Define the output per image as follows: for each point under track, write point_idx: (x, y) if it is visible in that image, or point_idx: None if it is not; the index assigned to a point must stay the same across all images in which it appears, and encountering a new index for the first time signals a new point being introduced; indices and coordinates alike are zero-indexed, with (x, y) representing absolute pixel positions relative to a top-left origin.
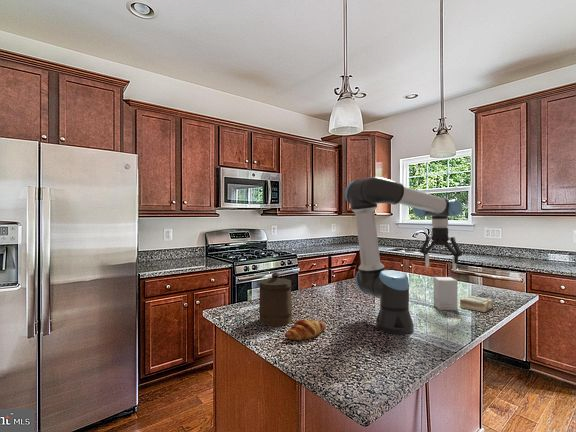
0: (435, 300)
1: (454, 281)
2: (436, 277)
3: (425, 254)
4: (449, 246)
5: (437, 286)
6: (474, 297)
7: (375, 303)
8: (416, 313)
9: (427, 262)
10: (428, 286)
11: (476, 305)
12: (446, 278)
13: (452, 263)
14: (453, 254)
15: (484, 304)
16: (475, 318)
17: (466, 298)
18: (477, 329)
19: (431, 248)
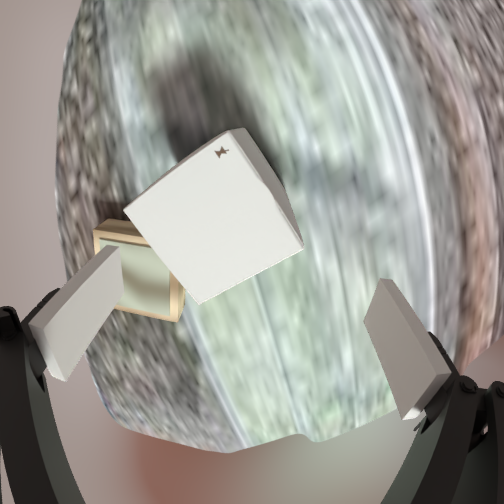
0: (273, 172)
1: (138, 197)
2: (278, 233)
3: (446, 383)
4: (22, 491)
5: (251, 152)
6: (146, 297)
7: (471, 90)
8: (307, 28)
9: (390, 318)
10: (349, 406)
11: (122, 228)
12: (201, 234)
13: (86, 280)
14: (14, 353)
15: (94, 231)
16: (108, 118)
17: (161, 264)
18: (89, 21)
19: (393, 492)
